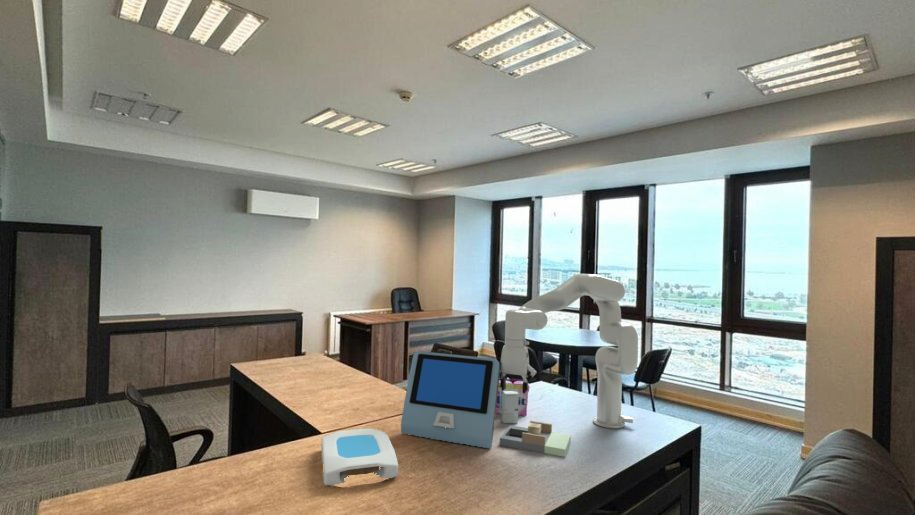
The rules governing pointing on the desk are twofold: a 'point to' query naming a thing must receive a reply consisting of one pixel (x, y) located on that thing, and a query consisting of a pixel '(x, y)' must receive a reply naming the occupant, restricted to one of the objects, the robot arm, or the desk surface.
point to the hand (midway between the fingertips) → (513, 390)
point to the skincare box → (510, 407)
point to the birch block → (534, 428)
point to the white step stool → (357, 454)
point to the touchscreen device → (451, 398)
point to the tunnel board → (536, 440)
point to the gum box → (518, 387)
